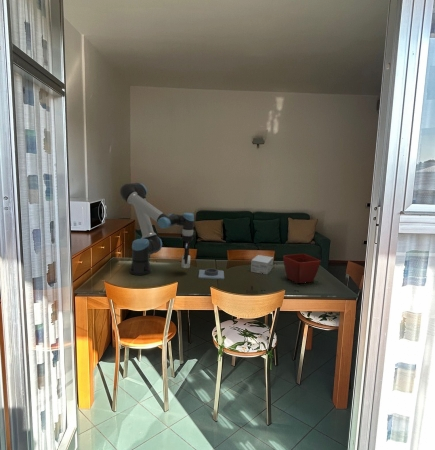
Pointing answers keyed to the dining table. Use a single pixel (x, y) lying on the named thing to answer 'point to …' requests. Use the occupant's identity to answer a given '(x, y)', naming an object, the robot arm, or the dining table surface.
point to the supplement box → (262, 264)
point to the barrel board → (211, 274)
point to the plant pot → (301, 267)
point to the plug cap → (188, 261)
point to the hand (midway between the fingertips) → (186, 266)
